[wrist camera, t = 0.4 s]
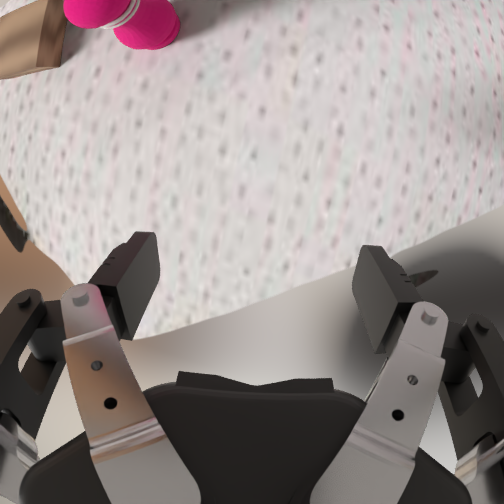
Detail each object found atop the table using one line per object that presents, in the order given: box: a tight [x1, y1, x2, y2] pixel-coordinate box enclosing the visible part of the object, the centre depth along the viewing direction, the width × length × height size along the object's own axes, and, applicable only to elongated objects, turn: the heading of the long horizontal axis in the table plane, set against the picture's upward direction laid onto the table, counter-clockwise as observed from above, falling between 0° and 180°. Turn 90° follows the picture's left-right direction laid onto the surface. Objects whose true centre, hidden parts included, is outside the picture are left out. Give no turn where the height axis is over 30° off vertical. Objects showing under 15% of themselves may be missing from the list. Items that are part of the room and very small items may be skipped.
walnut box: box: [0, 0, 67, 80], centre depth 24 cm, size 11×11×6 cm
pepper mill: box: [63, 0, 180, 50], centre depth 19 cm, size 7×7×20 cm
